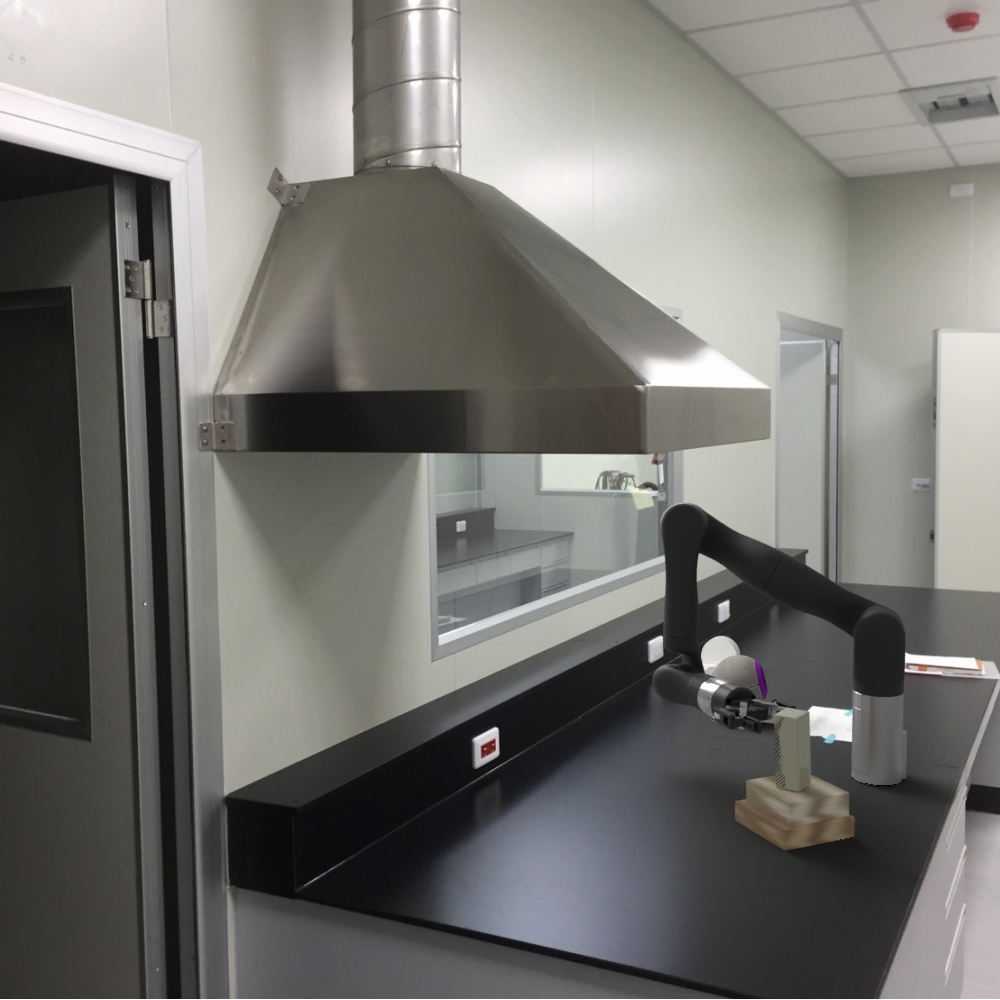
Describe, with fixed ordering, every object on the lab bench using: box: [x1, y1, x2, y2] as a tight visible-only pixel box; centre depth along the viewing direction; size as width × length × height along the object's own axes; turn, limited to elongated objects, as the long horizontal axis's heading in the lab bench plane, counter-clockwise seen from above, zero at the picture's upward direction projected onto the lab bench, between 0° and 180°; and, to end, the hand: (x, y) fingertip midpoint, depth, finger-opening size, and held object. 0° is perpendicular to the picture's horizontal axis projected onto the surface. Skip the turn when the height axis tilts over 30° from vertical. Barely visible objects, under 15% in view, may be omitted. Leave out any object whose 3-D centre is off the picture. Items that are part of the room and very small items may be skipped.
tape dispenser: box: [700, 635, 741, 676], centre depth 285 cm, size 10×18×11 cm, turn 154°
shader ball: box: [712, 654, 769, 719], centre depth 244 cm, size 13×13×15 cm
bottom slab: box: [734, 798, 856, 851], centre depth 181 cm, size 14×14×4 cm
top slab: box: [745, 774, 850, 827], centre depth 180 cm, size 12×12×4 cm
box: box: [773, 708, 812, 792], centre depth 179 cm, size 5×4×13 cm
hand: (780, 724), depth 183 cm, fingers open, 8 cm apart
